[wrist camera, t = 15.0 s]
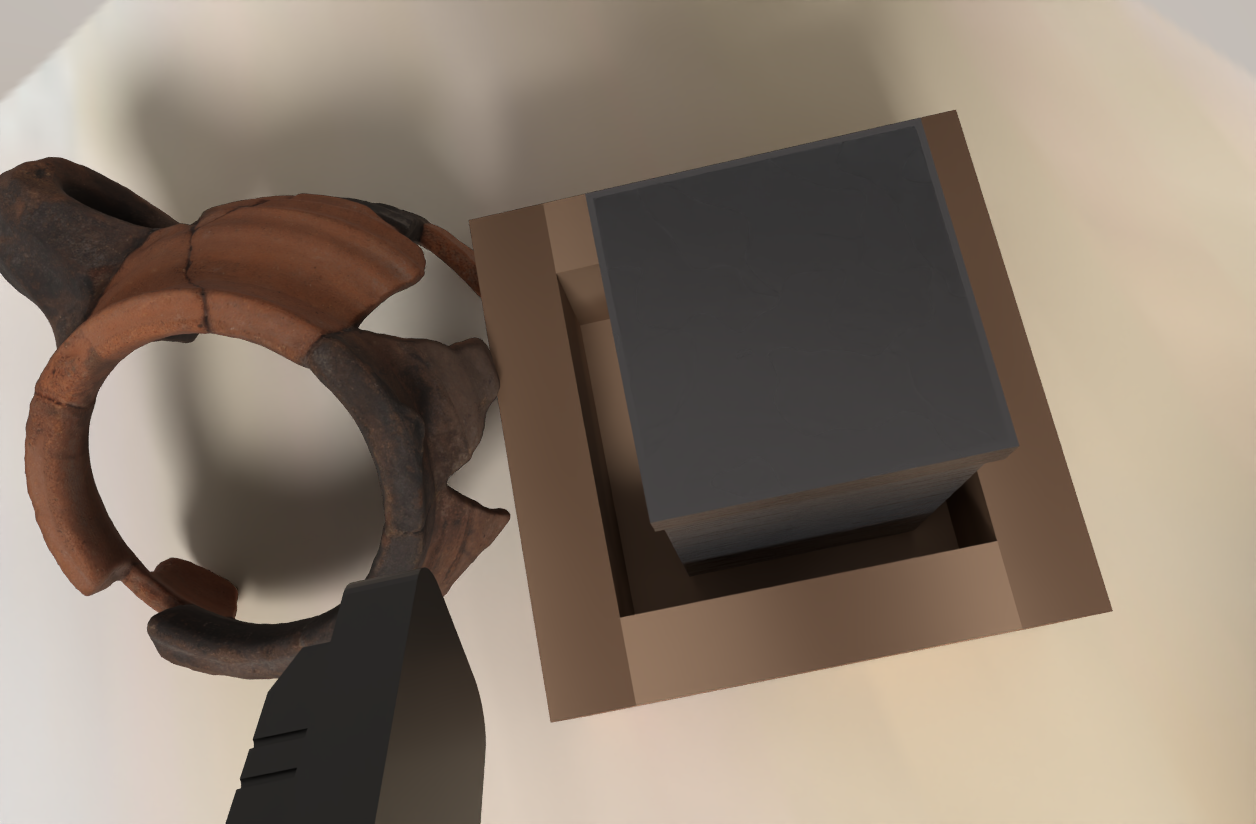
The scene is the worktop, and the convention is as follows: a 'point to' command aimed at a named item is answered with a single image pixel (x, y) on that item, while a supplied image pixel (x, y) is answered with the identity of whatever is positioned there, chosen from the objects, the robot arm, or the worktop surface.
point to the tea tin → (797, 347)
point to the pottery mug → (262, 314)
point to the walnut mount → (770, 590)
